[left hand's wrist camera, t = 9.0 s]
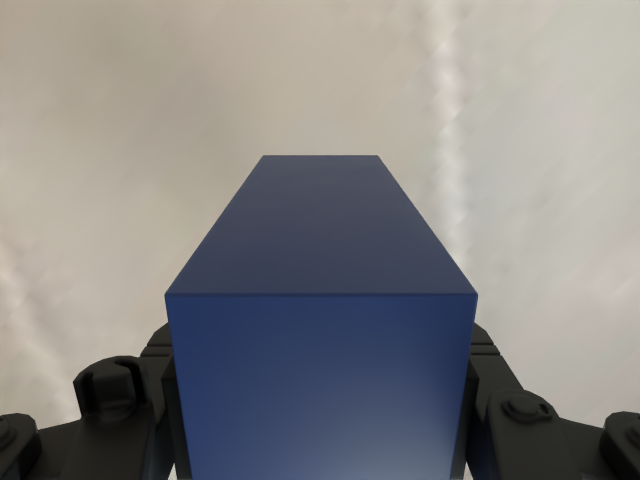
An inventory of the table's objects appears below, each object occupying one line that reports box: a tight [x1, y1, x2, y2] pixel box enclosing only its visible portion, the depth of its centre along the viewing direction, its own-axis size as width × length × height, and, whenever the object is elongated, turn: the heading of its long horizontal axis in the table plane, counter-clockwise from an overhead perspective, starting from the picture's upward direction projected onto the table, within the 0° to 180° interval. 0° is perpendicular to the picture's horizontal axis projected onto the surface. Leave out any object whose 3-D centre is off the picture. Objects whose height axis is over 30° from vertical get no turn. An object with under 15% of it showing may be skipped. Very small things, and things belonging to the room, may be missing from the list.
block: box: [164, 155, 478, 480], centre depth 13 cm, size 8×5×12 cm, turn 0°
